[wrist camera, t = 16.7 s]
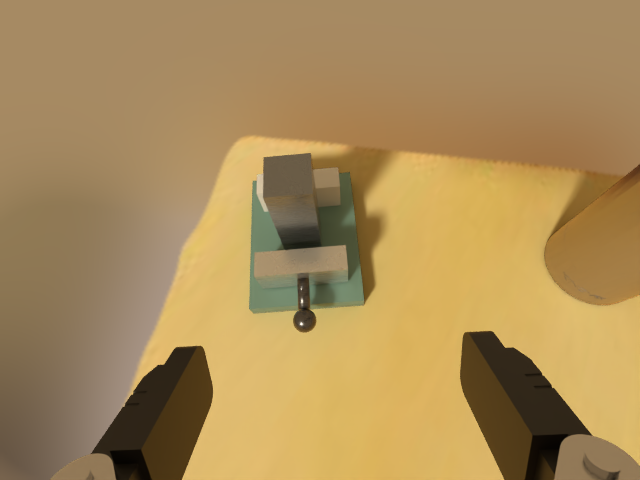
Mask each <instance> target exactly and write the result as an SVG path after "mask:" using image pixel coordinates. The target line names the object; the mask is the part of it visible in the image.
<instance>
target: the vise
mask: <svg viewBox="0 0 640 480" xmlns="http://www.w3.org/2000/svg"><path fill="white" fill-rule="evenodd" d="M313 172H314V179H315V186H316V193H317V199H318V206H319V213H320V220H321V236H322V247H329V246H341V245H346V253H347V264H348V282H344V283H331V284H318V285H309V287H310V309H320V308H333V307H347V306H360V305H364V294H363V285H362V276H361V267H360V258H359V249H358V240H357V232H356V223H355V214H354V205H353V196H352V187H351V178H350V172H348V173H339V171H338V167H334V168H322V169H313ZM279 250H284V247H283V245H282V242H281V240H280V237H279V235H278V233H277V230H276V228H275V225H274V223H273V221H272V218H271V216H270V213H269V211H268V209H267V206H266V204H265V201H264V199H263V174H257V181H253V189H252V226H251V263H250V300H249V309H250V310H251V311H252V312H253V313H266V312H279V311H293V310H298V291H297V286H292V287H279V288H266V289H263V288H262V287H261V285H260V284H259V283H258V281H257V280H256V279H255V277H254V253H255V252H267V251H279Z"/></svg>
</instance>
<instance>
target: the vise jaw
mask: <svg viewBox="0 0 640 480" xmlns="http://www.w3.org/2000/svg"><path fill="white" fill-rule="evenodd" d="M254 277H255V279H256V280H257V281H258V283H259V284H260V285H261V287H262V288H263V289H266V288H279V287H292V286H297V291H298V310H299V311H297V312H296V314H295V315H294V318H293V323H294V326H295V328H296V329H297V330H298V331H300V332H309V331H311V330H312V329H313V328H314V327H315V325H316V316H315V314H314V313H313V312H312V311H311V310H310V287H309V285H318V284H331V283H344V282H348V264H347V253H346V245H341V246H329V247H316V248H304V249H292V250H279V251H267V252H255V253H254Z"/></svg>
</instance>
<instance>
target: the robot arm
mask: <svg viewBox="0 0 640 480" xmlns="http://www.w3.org/2000/svg"><path fill="white" fill-rule="evenodd" d="M544 256H545V262H546V266H547V269H548V271H549V273H550V275H551V276H552V278H553V279H554V281H555V282H556V283H557V284H558V285H559V286H560V287H561V288H562V289H563V290H564V291H566V292H567V293H568V294H570V295H571V296H573V297H575V298H577V299H579V300H581V301H584V302H587V303H590V304H596V305H611V304H615V303H619V302H622V301H625V300H627V299H630V298H633V297H636V296H639V295H640V165H638V166H637V167H636V168H635V169H633V171H631V172H630V173H628V174H627V175H626V176H625V177H624V178H622V179H621V180H620V181H619V182H617V183H616V184H615V185H614V186H612V187H611V188H610V189H609V190H607V191H606V192H605V193H604V194H602V195H601V196H600V197H599V198H597V199H596V200H595V201H594V202H593V203H591V204H590V205H589V206H588V207H586V208H585V209H584V210H583V211H581V212H580V213H579V214H578V215H576V216H575V217H574V218H572V219H571V220H570V221H569V222H568V223H566V224H565V225H564V226H563V227H561V228H560V229H559V230H558V231H557V232H555V233H554V234H553V235H552V236H551V237H550V239H549V240H548V242H547V244H546V247H545V255H544ZM460 379H461V385H462V389H463V393H464V395H465V397H466V400H467V402H468V404H469V406H470V408H471V410H472V412H473V414H474V416H475V419H476V421H477V423H478V425H479V427H480V429H481V431H482V433H483V435H484V437H485V440H486V442H487V444H488V446H489V448H490V450H491V452H492V454H493V456H494V458H495V461H496V463H497V465H498V467H499V469H500V471H501V473H502V475H503V477H504V480H640V466H639V465H638V464H637V462H636V461H635V460H634V459H633V458H632V457H631V456H630V455H628V454H627V453H626V452H625V451H623V450H622V449H620V448H619V447H617V446H616V445H614V444H612V443H610V442H608V441H606V440H603V439H601V438H598V437H594V436H592V435H591V433H590V432H589V431H588V430H587V428H586V427H585V426H584V425H583V423H582V422H581V421H580V420H579V419H578V417H577V416H576V415H575V414H574V412H573V411H572V410H571V409H570V407H569V406H568V405H567V404H566V402H565V401H564V400H563V399H562V397H561V396H560V395H559V394H558V393H557V391H556V390H555V389H554V388H552V385H551V384H550V383H549V381H548V380H547V379H546V378H545V376H542V373H541V371H540V370H539V369H538V368H537V367H536V365H535V364H534V363H533V362H532V360H531V359H530V358H528V357H527V356H525V355H524V354H522V353H521V352H519V351H518V350H516V349H515V348H505V347H504V346H503V344H502V343H501V342H500V340H499V339H498V338H497V336H496V335H495V334H494V333H493V332H492V331H480V332H465V333H464V335H463V342H462V356H461V369H460ZM212 397H213V386H212V381H211V377H210V372H209V368H208V364H207V360H206V355H205V351H204V349H203V347H202V346H189V347H176V348H175V349H174V350H173V352H172V353H171V355H170V356H169V358H168V359H167V361H166V363H165V364H164V365H158V366H156V367H155V368H154V369H153V370H152V371H150V372H149V373H148V374H147V375H146V376H144V377H143V379H142V380H141V381H140V383H139V384H138V386H137V387H136V389H135V390H134V392H133V395H131V396H130V397H129V399H128V400H127V402H126V403H125V407H123V408H122V409H121V411H120V412H119V414H118V415H117V416H116V418H115V419H114V421H113V422H112V424H111V425H110V427H109V428H108V430H107V431H106V433H105V434H104V436H103V437H102V438H101V440H100V441H99V443H98V444H97V446H96V447H95V449H94V450H93V452H92V453H91V454H90V455H87V456H84V457H81V458H78V459H76V460H74V461H73V462H71V463H69V464H68V465H66V466H65V467H63V468H62V469H61V470H60V471H58V472H57V473H56V474H55V475H54V476H53V477H52V478H51V479H50V480H182V478H183V475H184V473H185V470H186V467H187V465H188V462H189V460H190V457H191V455H192V452H193V450H194V447H195V445H196V442H197V440H198V437H199V434H200V432H201V429H202V427H203V424H204V422H205V419H206V417H207V414H208V412H209V409H210V406H211V403H212Z"/></svg>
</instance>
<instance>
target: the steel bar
mask: <svg viewBox="0 0 640 480" xmlns="http://www.w3.org/2000/svg"><path fill="white" fill-rule="evenodd" d="M263 199H264V201H265V204H266V206H267V209H268V211H269V213H270V216H271V218H272V221H273V223H274V225H275V228H276V230H277V233H278V235H279V237H280V240H281V242H282V245H283V247H284V250H292V249H304V248H316V247H322V236H321V220H320V213H319V206H318V199H317V193H316V186H315V179H314V172H313V166H312V159H311V153H307V154H296V155H284V156H273V157H264V167H263Z"/></svg>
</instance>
